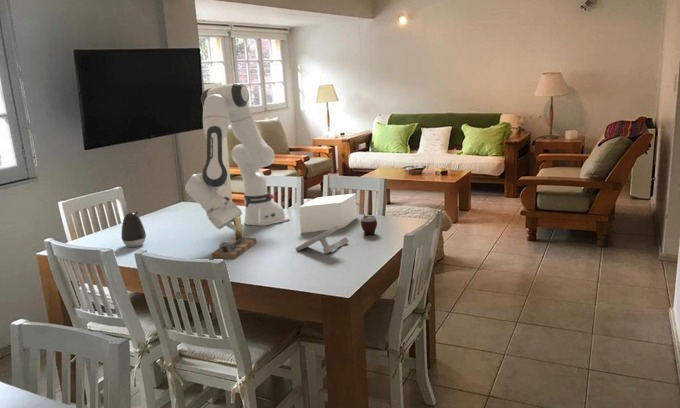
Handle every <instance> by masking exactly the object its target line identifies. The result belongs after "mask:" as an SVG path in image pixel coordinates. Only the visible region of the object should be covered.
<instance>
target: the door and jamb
mask: <svg viewBox="0 0 680 408" xmlns="http://www.w3.org/2000/svg"><path fill="white" fill-rule="evenodd" d="M233 240H235V237H233V238H232V239H231V240H229V241H223V242H221V243H220V244H219V245H218V246H219V248H217V249H216V250H214V251H213V252H211V259H228V260H229V259H233V260H234V259H237V258H238V257H240V255H242V254H243V253H244V252H246V251H247V250H248V249H250V248H251V247H253V246H254V245H255V244H256V243H257V239H256V238H255V237H253V238H252V237H244V239H243V240H242V241H240V242H239V243H237V244H236V245H235V246H234V242H232V241H233Z"/></svg>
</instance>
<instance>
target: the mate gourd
mask: <svg viewBox="0 0 680 408" xmlns="http://www.w3.org/2000/svg"><path fill="white" fill-rule="evenodd" d="M355 203H356V205H358V206H359V208H360V209H361V212H362V214H363V215H362V218H361V221H360V225H361V228H362V230H363V234H364V235H363V236H364V237H367V236H376V233H375V232H376V229H377V226H378V221H377V217H375V216H374V215H371V214H370V215H366V214H365V211H364V209H363V207H362V205H361V204H360V203H358V202H357V201H356V202H355Z"/></svg>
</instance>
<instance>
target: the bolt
mask: <svg viewBox="0 0 680 408" xmlns="http://www.w3.org/2000/svg"><path fill="white" fill-rule="evenodd" d="M233 220H234V222H233V225H235V226H237V227H238V228H239V229H238V230H237V231H236V232H235V231H234V238H235V240H233V241H232V242H234V246H235V245H236V244H237V243H239V242H240V241H242V240H243V239H244V238H245V236H243V230H242V228H243V227H242V228H241V224H242V219H241V216H240V217H234V218H233Z"/></svg>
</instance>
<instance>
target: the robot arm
mask: <svg viewBox="0 0 680 408" xmlns="http://www.w3.org/2000/svg"><path fill="white" fill-rule="evenodd" d="M249 99H250V94H249V90H248V87H247V86H246V85H244V84H243V83H241V82H235V83H234V82H233V83H227V84H222V85H219V86H215V87H212V88H211V87H210V88H208V89H207V88H206V89H205V90H204V91H203V92H202V94H201V96H200V102H201V104H202V109H203V110H202V128H203V132H204V137H205V140H206V161H205V164H204V166H203V168H202V172H201V173H193V174H191V176H189V177H188V179H187V180H186V182H185V184H184V188H185V191H186V193H187V194H188V195H189V196H190V198H191V199H193V201H194V202H196V203H198V204H199V205H200V206H201V208H202V209H203V210H204V211H205V212H206V216H207V217H208V218H207V219H208V220H209V222H210V223H212V225H214V227H215V228H216V229H217V230H221V229H223V228H225V227H227V228H229V229H230V230H233V232H234V233H235V232H236V231H237V230H238V229H239V228H238V227H237V226H235V225H234V220H233V218H234V217H241V216H242V215H243V211H242V210H241V208H239V206H238V205H236V204H235V202H233V201H232V200H231V198H230V197H229V196H224V195H223V196H222V195H220V194H219V192H220V191H222V190H224V189H225V188H226V187H228V185H229V182H230V181H229V174H228V172H227V168H226V166H225V165H224V161H223V142H224V139H225V138H226V137H227V136H228V133H229V123H230V126H231V131H232V133H233V136H234V137H235V138H236V140H238V141H239V142H240V144H235V146H234V147H233V148H232V150H231V159H232V161H233V162H234V163H235V164H236V165H237V167H238V169H239V172H240V174H241V177H242V181H243V190H244V195H243V201H244V206H245V215H244V220H243V223H241V228H243V227H244V225H248V226H260V227H265V226H268V225H273V224H279V223H284V222H287V221H288V222H289V220H290V216H289V215H287V214H285V211H284V207H283V206H282V205H280V204H279V203H277V202H276V201H275V200H273V199H274V198H275V194H272V193H269V192H268V186H267V178H266V176H265V174H264V173H262V170H261V168H265V167H269V166H271V165H272V164H273V163H274V161H275V157H276V155H275V151H274V149H273V148H272V147H271V146H269V144H267V142H265V140H264V138H263V136H262V135H261V133H260V132H259V131H258V129H257V126H256V125H257V124H256V123H255V119H254V117H253V113H252V111H251V108H250V105H249V103H248V102H249Z"/></svg>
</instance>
